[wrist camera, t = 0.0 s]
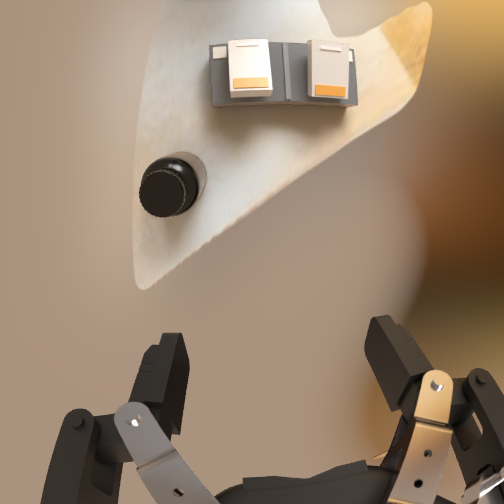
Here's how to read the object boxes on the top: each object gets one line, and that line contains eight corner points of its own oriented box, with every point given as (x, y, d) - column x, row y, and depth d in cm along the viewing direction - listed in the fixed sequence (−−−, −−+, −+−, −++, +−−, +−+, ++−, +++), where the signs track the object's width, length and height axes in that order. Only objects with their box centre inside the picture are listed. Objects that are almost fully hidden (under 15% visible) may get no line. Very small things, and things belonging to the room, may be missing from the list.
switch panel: (212, 53, 29) (209, 44, 25) (343, 56, 30) (354, 48, 26) (215, 107, 33) (211, 104, 29) (346, 107, 33) (358, 105, 29)
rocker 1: (228, 48, 26) (227, 39, 24) (266, 47, 26) (267, 38, 24) (230, 97, 27) (230, 90, 25) (270, 96, 27) (272, 89, 25)
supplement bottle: (172, 207, 38) (147, 238, 27) (151, 164, 35) (117, 179, 24) (216, 187, 37) (206, 211, 26) (195, 142, 34) (176, 147, 24)
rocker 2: (307, 41, 24) (311, 39, 22) (342, 45, 24) (349, 44, 22) (307, 94, 28) (312, 96, 27) (341, 97, 29) (348, 99, 27)
